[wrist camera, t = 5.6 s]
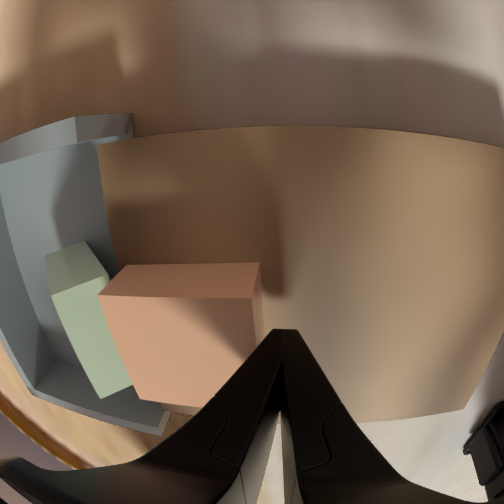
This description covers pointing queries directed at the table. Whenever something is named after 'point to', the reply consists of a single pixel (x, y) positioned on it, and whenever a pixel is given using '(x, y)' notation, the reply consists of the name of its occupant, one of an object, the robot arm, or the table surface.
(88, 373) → the sage tile
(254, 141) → the walnut board
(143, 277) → the terracotta tile
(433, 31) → the table surface
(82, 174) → the tray
